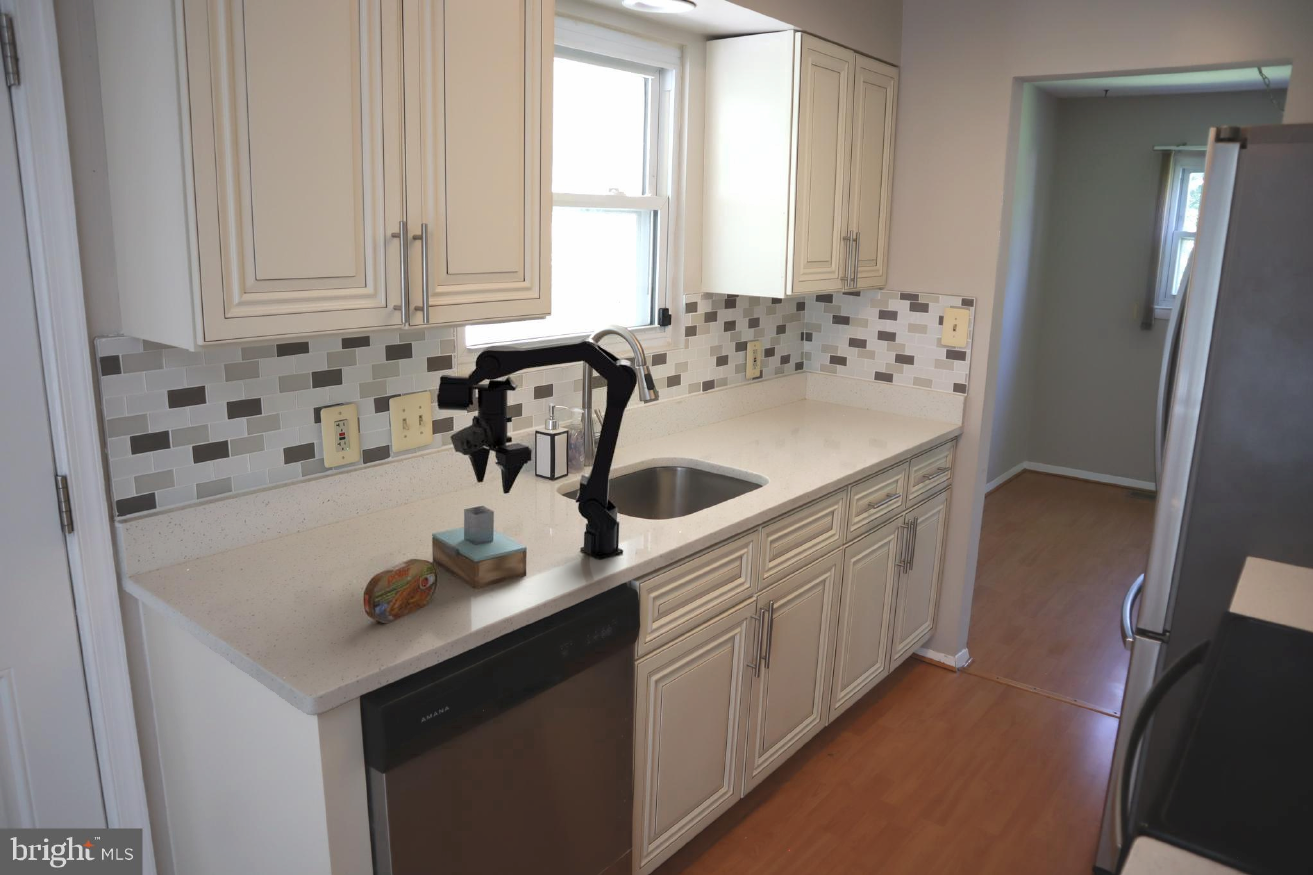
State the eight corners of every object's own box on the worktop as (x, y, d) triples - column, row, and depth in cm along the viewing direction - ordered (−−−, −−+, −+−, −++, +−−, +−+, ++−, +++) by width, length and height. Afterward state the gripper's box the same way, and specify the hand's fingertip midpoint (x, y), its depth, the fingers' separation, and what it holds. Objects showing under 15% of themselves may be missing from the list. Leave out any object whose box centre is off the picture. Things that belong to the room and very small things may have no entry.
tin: (374, 630, 150) (372, 582, 148) (360, 625, 151) (358, 578, 149) (439, 599, 162) (438, 554, 160) (426, 595, 164) (425, 550, 162)
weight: (482, 535, 178) (482, 505, 176) (493, 541, 175) (493, 511, 174) (463, 539, 175) (464, 509, 174) (475, 545, 172) (475, 514, 171)
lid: (481, 529, 185) (481, 523, 184) (526, 554, 173) (526, 547, 173) (428, 540, 177) (428, 534, 177) (471, 566, 166) (472, 559, 165)
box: (481, 549, 186) (481, 526, 185) (526, 574, 174) (526, 550, 173) (432, 561, 179) (432, 537, 177) (475, 588, 167) (475, 562, 166)
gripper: (431, 407, 181) (432, 483, 185) (484, 426, 168) (484, 507, 172) (479, 401, 188) (480, 474, 192) (533, 418, 175) (533, 496, 179)
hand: (493, 487), depth 184 cm, fingers open, 9 cm apart
